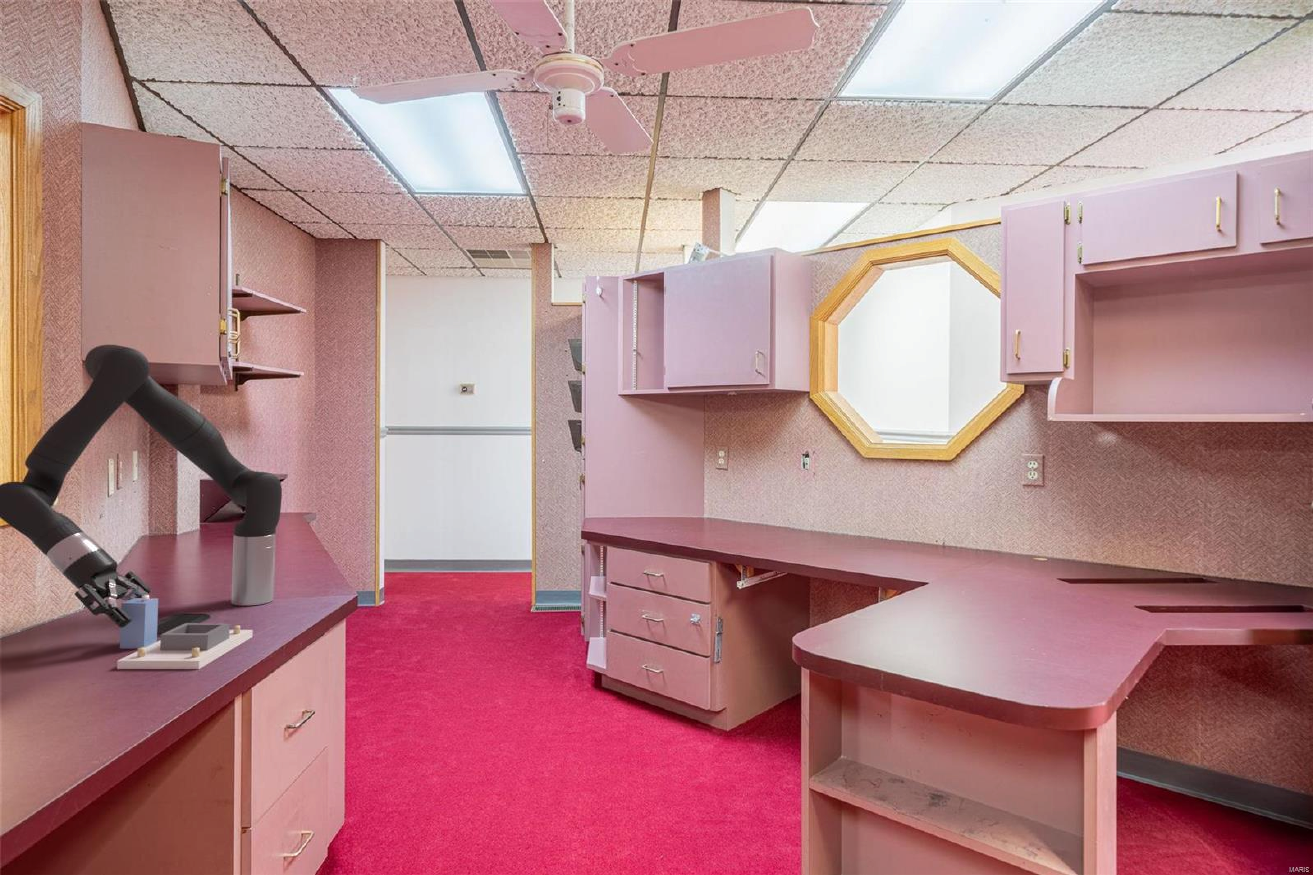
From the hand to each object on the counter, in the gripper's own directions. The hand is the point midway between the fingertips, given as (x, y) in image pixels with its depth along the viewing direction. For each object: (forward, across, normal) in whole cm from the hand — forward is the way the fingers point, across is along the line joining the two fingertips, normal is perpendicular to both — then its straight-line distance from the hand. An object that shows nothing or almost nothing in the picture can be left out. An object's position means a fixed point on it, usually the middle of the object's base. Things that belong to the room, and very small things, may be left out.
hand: (141, 618), depth 137 cm
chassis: (+12, -4, -4) cm, 13 cm away
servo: (+4, 0, +4) cm, 5 cm away
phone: (+3, +14, +5) cm, 15 cm away
